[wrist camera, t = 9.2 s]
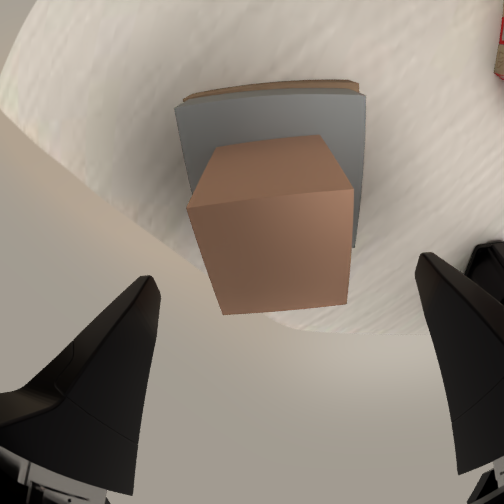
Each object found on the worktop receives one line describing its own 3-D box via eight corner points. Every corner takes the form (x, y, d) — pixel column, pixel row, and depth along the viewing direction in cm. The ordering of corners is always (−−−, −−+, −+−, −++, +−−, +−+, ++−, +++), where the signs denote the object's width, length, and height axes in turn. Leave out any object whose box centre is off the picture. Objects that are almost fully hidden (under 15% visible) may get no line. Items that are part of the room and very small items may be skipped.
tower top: (343, 221, 19) (354, 247, 17) (213, 228, 20) (206, 256, 17) (348, 88, 13) (365, 95, 11) (189, 99, 14) (174, 108, 12)
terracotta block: (324, 221, 16) (346, 304, 11) (235, 231, 16) (222, 314, 12) (319, 134, 13) (354, 189, 8) (216, 147, 13) (186, 208, 8)
